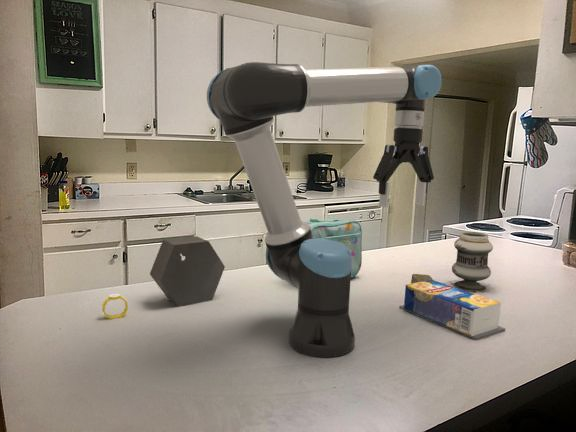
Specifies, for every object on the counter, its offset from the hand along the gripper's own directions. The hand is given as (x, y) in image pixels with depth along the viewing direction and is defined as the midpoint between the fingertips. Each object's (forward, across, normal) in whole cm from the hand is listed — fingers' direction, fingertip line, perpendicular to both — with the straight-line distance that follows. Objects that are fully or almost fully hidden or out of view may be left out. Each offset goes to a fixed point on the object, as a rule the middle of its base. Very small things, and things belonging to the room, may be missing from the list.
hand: (402, 205), depth 133 cm
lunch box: (+29, -3, +29) cm, 41 cm away
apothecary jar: (+29, +37, +4) cm, 47 cm away
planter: (+30, -50, +30) cm, 66 cm away
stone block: (+29, +18, +6) cm, 35 cm away
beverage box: (+25, +7, -25) cm, 36 cm away
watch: (+30, -71, +25) cm, 81 cm away
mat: (+29, +7, -14) cm, 33 cm away
